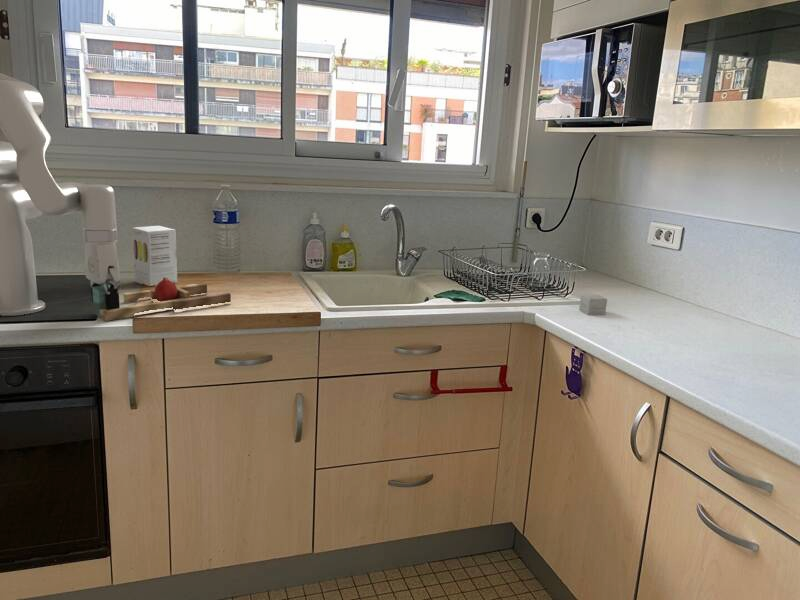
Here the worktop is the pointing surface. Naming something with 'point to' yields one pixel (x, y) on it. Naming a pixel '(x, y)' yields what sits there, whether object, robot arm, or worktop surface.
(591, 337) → the worktop surface
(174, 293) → the onion
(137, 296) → the broken strip
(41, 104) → the robot arm
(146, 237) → the supplement box
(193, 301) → the lane rails
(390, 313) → the worktop surface
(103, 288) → the tan frame
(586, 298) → the small box
